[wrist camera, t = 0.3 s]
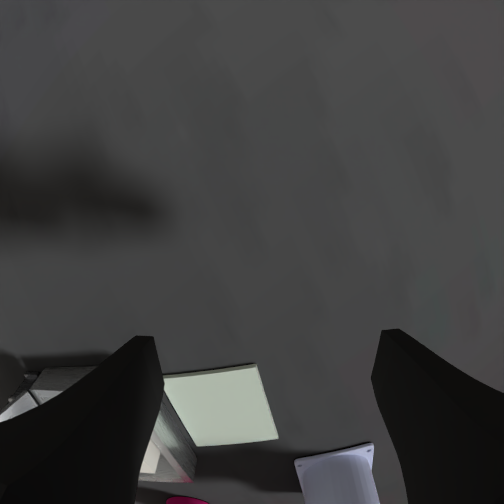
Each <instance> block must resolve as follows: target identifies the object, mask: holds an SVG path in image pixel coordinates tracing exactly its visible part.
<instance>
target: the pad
mask: <svg viewBox="0 0 504 504" xmlns="http://www.w3.org/2000/svg"><path fill="white" fill-rule="evenodd" d="M163 379H164V382H165V386H164V391H165V392H166V394H167V396H168V398H169V400H170V402H171V403H172V405H173V407H174V409H175V410H176V412H177V414H178V416H179V417H180V419H181V421H182V422H183V424H184V426H185V427H186V429H187V431H188V432H189V434H190V436H191V437H192V439H193V441H194V442H195V444H196V445H197V446H213V445H227V444H238V443H248V442H257V441H265V440H272V439H278V433H277V430H276V427H275V424H274V420H273V417H272V414H271V411H270V408H269V404H268V401H267V398H266V395H265V391H264V388H263V385H262V381H261V378H260V375H259V371H258V368H257V365H256V364H251V365H244V366H238V367H231V368H224V369H217V370H209V371H201V372H193V373H184V374H174V375H163Z"/></svg>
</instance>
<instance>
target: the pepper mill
mask: <svg viewBox="0 0 504 504" xmlns="http://www.w3.org/2000/svg"><path fill="white" fill-rule="evenodd" d="M166 504H209V503H207V502H205V501H202V500H199V499H195V498H191V497H171V498H169V499H167V501H166Z"/></svg>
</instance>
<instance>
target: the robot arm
mask: <svg viewBox="0 0 504 504" xmlns="http://www.w3.org/2000/svg"><path fill="white" fill-rule="evenodd" d="M371 381H372V385H373V389H374V393H375V397H376V401H377V404H378V407H379V409H380V412H381V414H382V417H383V420H384V422H385V425H386V427H387V430H388V432H389V435H390V437H391V440H392V442H393V445H394V447H395V450H396V453H397V455H398V458H399V462H400V465H401V469H402V473H403V478H404V482H405V487H406V492H407V498H408V504H504V393H502V392H500V391H497V390H495V389H493V388H491V387H489V386H487V385H485V384H483V383H481V382H479V381H478V380H476V379H474V378H472V377H470V376H469V375H467V374H466V373H464V372H462V371H461V370H459V369H457V368H456V367H454V366H453V365H451V364H450V363H448V362H447V361H445V360H444V359H442V358H441V357H439V356H438V355H436V354H435V353H434V352H432V351H431V350H429V349H428V348H427V347H425V346H424V345H422V344H421V343H419V342H418V341H417V340H415V339H414V338H412V337H411V336H409V335H408V334H406V333H405V332H403V331H402V330H400V329H390V330H382V331H381V336H380V341H379V345H378V350H377V354H376V359H375V363H374V367H373V371H372V375H371ZM164 386H165V382H164V379H163V375H162V371H161V367H160V363H159V359H158V354H157V350H156V346H155V342H154V337H153V336H135V337H133V338H132V339H131V340H129V341H128V342H127V343H125V344H124V345H123V346H122V347H121V348H119V349H118V350H117V351H116V352H115V353H113V354H112V355H111V356H110V357H108V358H107V359H106V360H105V361H103V362H102V363H101V364H100V365H99V366H97V367H96V368H95V369H94V370H92V371H91V372H90V373H88V374H87V375H85V376H84V377H83V378H81V379H80V380H79V381H77V382H76V383H75V384H73V385H72V386H70V387H69V388H67V389H66V390H64V391H63V392H61V393H60V394H58V395H57V396H55V397H53V398H51V399H50V400H48V401H46V402H45V403H43V404H41V405H39V406H37V407H35V408H33V409H31V410H28V411H26V412H24V413H22V414H20V415H18V416H15V417H13V418H10V419H8V420H5V421H2V422H0V504H134V503H135V496H136V490H137V485H138V479H139V474H140V470H141V466H142V462H143V459H144V456H145V453H146V450H147V447H148V444H149V441H150V438H151V435H152V432H153V429H154V426H155V423H156V420H157V417H158V414H159V411H160V407H161V402H162V397H163V391H164ZM373 451H374V445H373V443H367V444H363V445H360V446H356V447H352V448H348V449H343V450H339V451H334V452H330V453H325V454H320V455H315V456H310V457H304V458H298V459H296V460H295V461H294V464H295V468H296V471H297V475H298V478H299V482H300V485H301V488H302V492H303V495H304V499H305V504H380V502H379V498H378V494H377V490H376V487H375V483H374V479H373V476H372V472H371V470H372V461H373Z"/></svg>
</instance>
